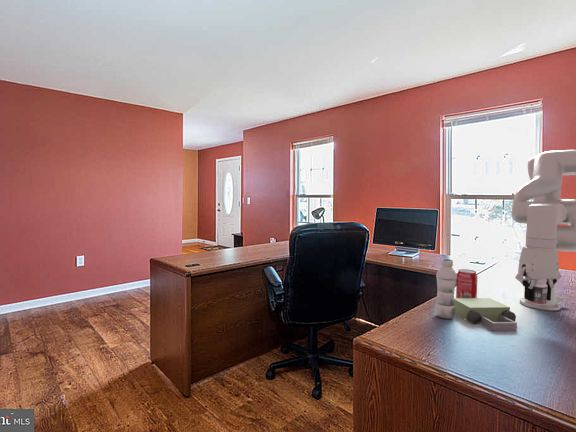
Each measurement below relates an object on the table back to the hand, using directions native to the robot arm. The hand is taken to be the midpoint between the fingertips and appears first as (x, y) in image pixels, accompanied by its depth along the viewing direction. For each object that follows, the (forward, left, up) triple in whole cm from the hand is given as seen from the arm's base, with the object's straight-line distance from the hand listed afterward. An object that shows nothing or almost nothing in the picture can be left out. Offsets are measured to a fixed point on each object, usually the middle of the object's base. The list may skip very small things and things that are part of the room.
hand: (537, 298), depth 104 cm
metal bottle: (+25, -10, -10) cm, 28 cm away
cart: (+12, -7, -9) cm, 17 cm away
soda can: (+8, -24, -10) cm, 27 cm away
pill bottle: (0, 0, -1) cm, 1 cm away
